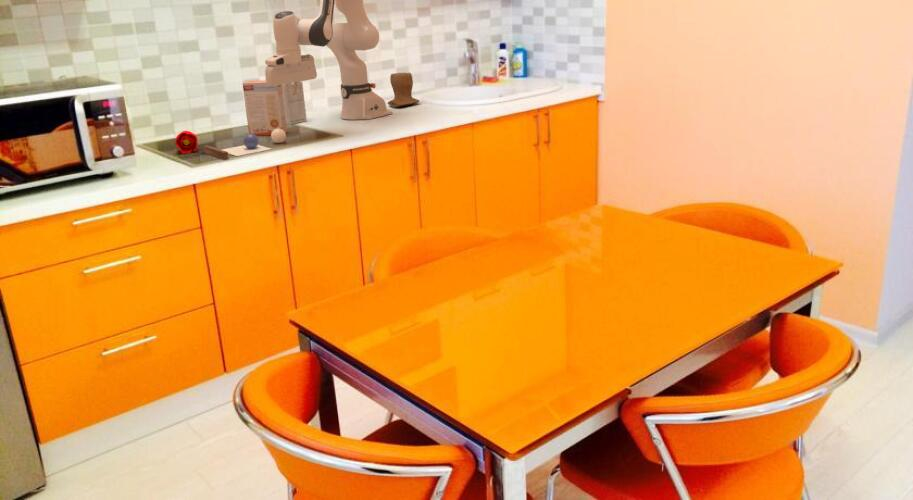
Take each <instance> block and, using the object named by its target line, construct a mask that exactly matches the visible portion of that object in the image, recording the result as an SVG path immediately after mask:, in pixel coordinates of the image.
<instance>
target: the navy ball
mask: <svg viewBox="0 0 913 500" xmlns="http://www.w3.org/2000/svg"><path fill="white" fill-rule="evenodd" d="M242 143H243V145H245V147H247V148H249V149H254V148H256V147H257V146H258V145H259V143H260V141H259V138H258V135H254V134H249V133H248V134H246V135H245V136H244V137H243V140H242Z"/></svg>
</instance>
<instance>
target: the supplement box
mask: <svg viewBox="0 0 913 500" xmlns="http://www.w3.org/2000/svg"><path fill="white" fill-rule="evenodd" d="M303 84H304V83H303V81H300V86H299V89H298V94H296V95H290V94H289V90H288V89H287V87H286V85H285V84H284V85H282V92H283V100H284V109H285V117H286V126H287V125H288V126H290V125H294V124H295V125H296V124H299V123H305V122H307V112H306V110H307V109H306V103H305V94H304V86H303ZM291 85H292V86H290V87H291V88H292V90H293V89H294V88H295V84H294V83H291Z"/></svg>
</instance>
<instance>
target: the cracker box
mask: <svg viewBox="0 0 913 500" xmlns="http://www.w3.org/2000/svg"><path fill="white" fill-rule="evenodd" d="M242 91H243V97H244V105H245V112H246V113H245V114H246V122H247V127H248V134H254V135H256V136H271V133H272V131H273V130H274V129H277V128H279V129H282V130H284V132H285V133H286V134H287V132H288V127H287V124H286V117H285V109H284V100H283V92H282V85H279V86H273V87H272V86H268V85H267V83H266V79H263V80H247V81H246V80H245V82H242Z"/></svg>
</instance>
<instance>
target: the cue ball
mask: <svg viewBox="0 0 913 500" xmlns="http://www.w3.org/2000/svg"><path fill="white" fill-rule="evenodd" d="M270 137H271V140H272V142H274V143H276V144H282V143H283V142H285V140H286V139H287V132H286V133H285V132H284V130H282V129H279V128H277V129H274V130H273V131H272V133H271V135H270Z"/></svg>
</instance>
